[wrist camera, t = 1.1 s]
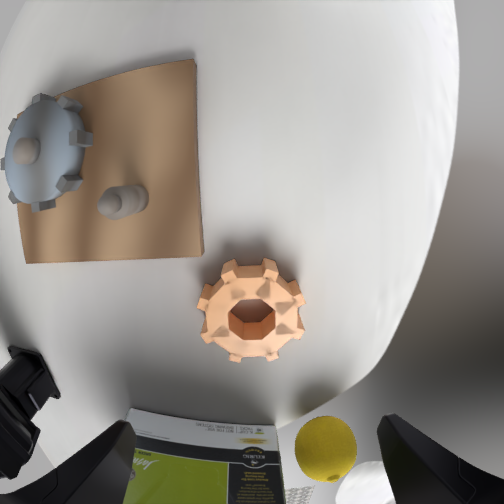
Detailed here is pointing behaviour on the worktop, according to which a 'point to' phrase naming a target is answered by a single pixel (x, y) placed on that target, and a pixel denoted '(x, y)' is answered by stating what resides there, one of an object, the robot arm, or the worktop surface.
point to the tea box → (203, 462)
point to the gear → (254, 333)
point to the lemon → (325, 449)
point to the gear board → (109, 169)
